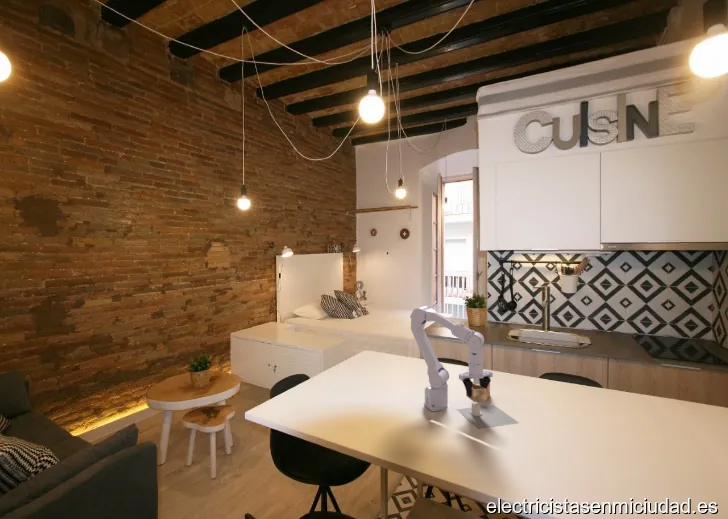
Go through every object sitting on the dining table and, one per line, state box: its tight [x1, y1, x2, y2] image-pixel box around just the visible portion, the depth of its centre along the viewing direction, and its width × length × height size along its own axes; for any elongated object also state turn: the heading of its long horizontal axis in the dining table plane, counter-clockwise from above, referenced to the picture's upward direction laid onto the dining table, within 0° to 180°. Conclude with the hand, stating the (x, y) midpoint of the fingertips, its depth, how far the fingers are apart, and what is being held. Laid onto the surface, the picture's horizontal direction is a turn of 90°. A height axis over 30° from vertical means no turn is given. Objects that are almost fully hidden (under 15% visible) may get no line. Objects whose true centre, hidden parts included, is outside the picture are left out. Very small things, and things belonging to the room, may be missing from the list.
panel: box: [456, 401, 520, 430], centre depth 134 cm, size 18×16×5 cm
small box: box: [472, 377, 491, 402], centre depth 152 cm, size 8×6×10 cm
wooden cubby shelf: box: [465, 382, 487, 403], centre depth 136 cm, size 6×6×5 cm
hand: (475, 395), depth 136 cm, fingers closed on wooden cubby shelf, 6 cm apart
